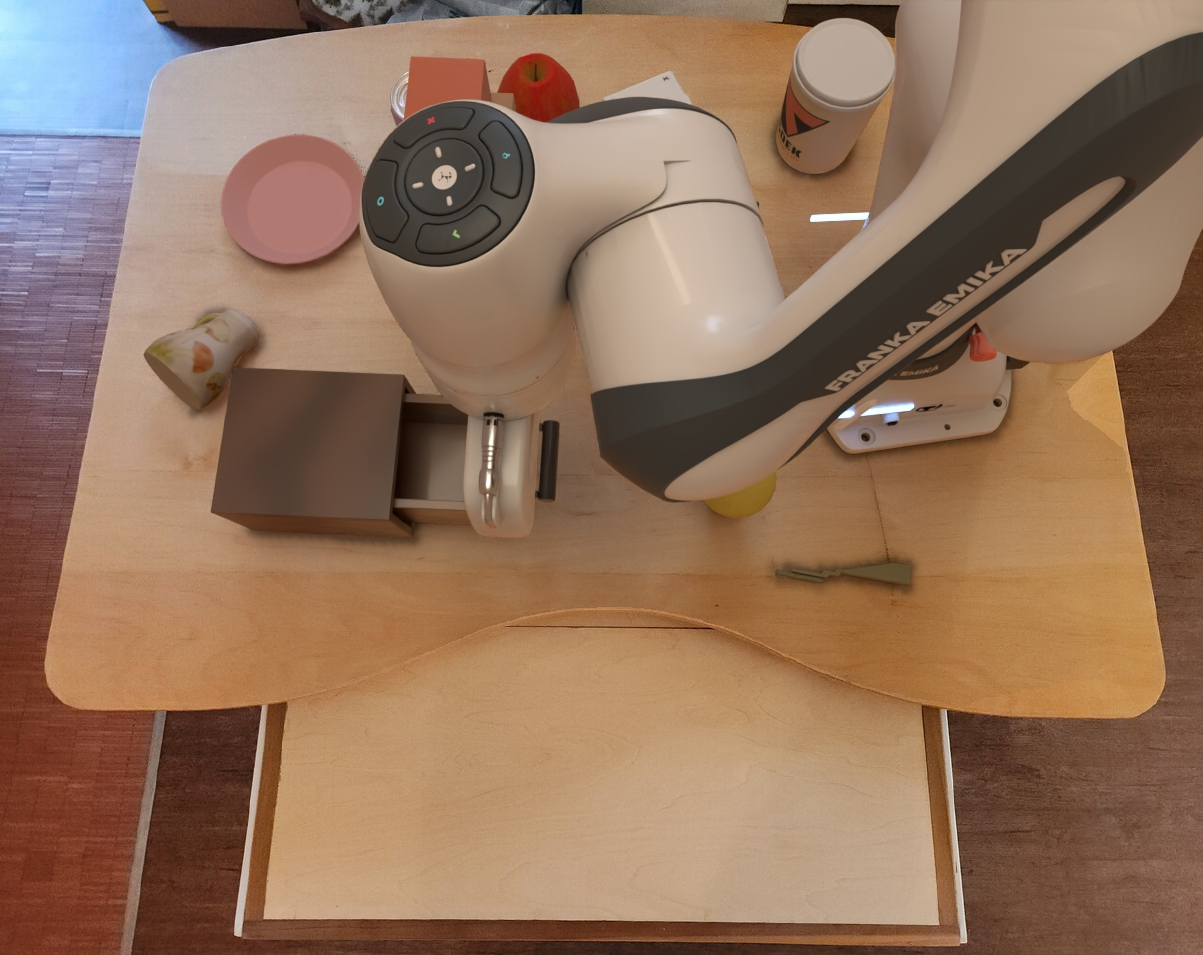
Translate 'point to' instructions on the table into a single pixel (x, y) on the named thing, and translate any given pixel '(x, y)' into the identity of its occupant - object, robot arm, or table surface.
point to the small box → (655, 89)
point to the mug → (202, 356)
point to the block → (445, 82)
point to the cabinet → (311, 452)
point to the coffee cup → (832, 93)
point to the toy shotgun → (858, 573)
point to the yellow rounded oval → (745, 499)
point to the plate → (293, 199)
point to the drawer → (448, 461)
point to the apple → (540, 87)
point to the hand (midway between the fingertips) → (522, 412)
